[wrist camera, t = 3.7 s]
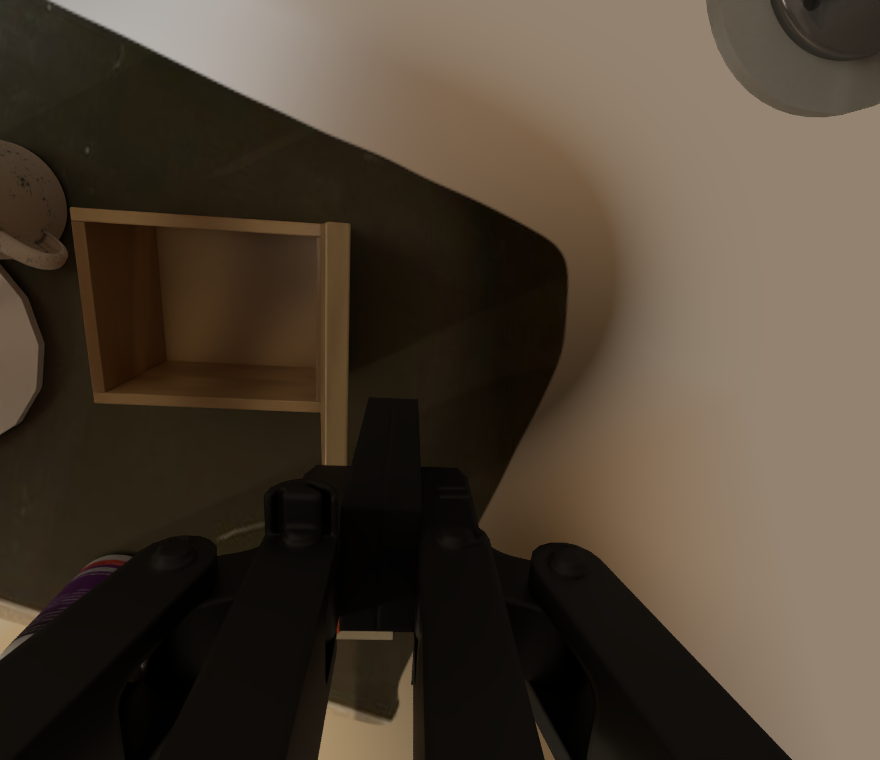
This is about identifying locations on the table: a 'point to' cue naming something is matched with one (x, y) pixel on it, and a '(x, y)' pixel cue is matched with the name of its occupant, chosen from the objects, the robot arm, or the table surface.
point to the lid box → (200, 309)
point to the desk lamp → (18, 354)
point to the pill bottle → (71, 594)
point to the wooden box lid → (334, 340)
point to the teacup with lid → (30, 210)
